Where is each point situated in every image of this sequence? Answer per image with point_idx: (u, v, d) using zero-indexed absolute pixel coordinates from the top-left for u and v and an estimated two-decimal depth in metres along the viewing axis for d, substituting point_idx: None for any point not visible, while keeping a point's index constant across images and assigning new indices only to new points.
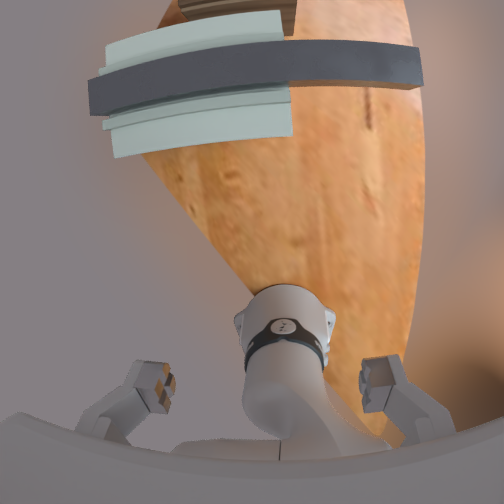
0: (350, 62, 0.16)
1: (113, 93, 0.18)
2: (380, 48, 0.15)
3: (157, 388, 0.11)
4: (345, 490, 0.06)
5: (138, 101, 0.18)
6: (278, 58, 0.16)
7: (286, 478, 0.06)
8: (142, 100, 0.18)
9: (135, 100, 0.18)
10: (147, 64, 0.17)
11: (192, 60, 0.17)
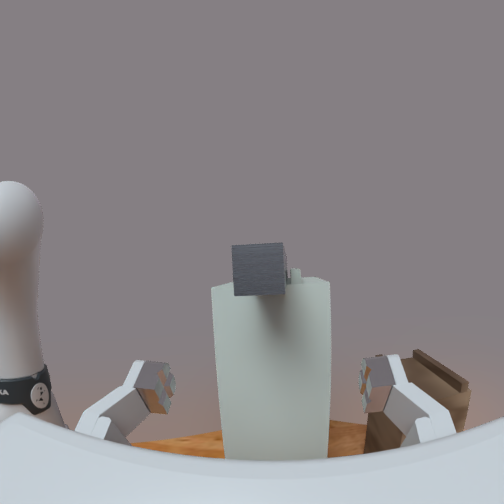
0: None
1: None
2: None
3: (157, 388, 0.11)
4: (345, 490, 0.06)
5: None
6: None
7: (286, 478, 0.06)
8: None
9: None
10: None
11: None
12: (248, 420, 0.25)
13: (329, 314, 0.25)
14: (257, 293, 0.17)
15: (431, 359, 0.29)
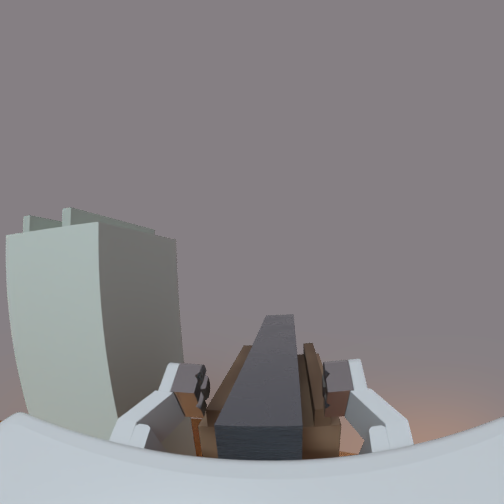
0: (264, 374, 0.14)
1: (276, 318, 0.29)
2: (289, 391, 0.11)
3: (196, 391, 0.11)
4: (345, 490, 0.06)
5: (263, 323, 0.28)
6: (275, 349, 0.18)
7: (286, 478, 0.06)
8: (263, 323, 0.27)
9: (264, 322, 0.28)
10: (291, 323, 0.26)
11: (286, 330, 0.23)
12: (41, 397, 0.17)
13: (97, 265, 0.17)
14: None
15: (313, 359, 0.21)
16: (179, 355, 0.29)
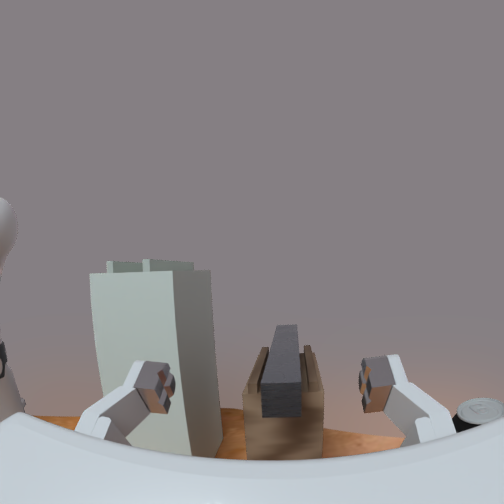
0: (280, 362, 0.25)
1: (284, 327, 0.41)
2: (294, 369, 0.23)
3: (157, 388, 0.11)
4: (345, 490, 0.06)
5: (275, 331, 0.39)
6: (285, 348, 0.29)
7: (286, 478, 0.06)
8: (275, 331, 0.38)
9: (276, 330, 0.39)
10: (295, 331, 0.38)
11: (292, 336, 0.35)
12: None
13: (173, 299, 0.29)
14: (280, 416, 0.20)
15: (309, 355, 0.32)
16: (213, 355, 0.41)
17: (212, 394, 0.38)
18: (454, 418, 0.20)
